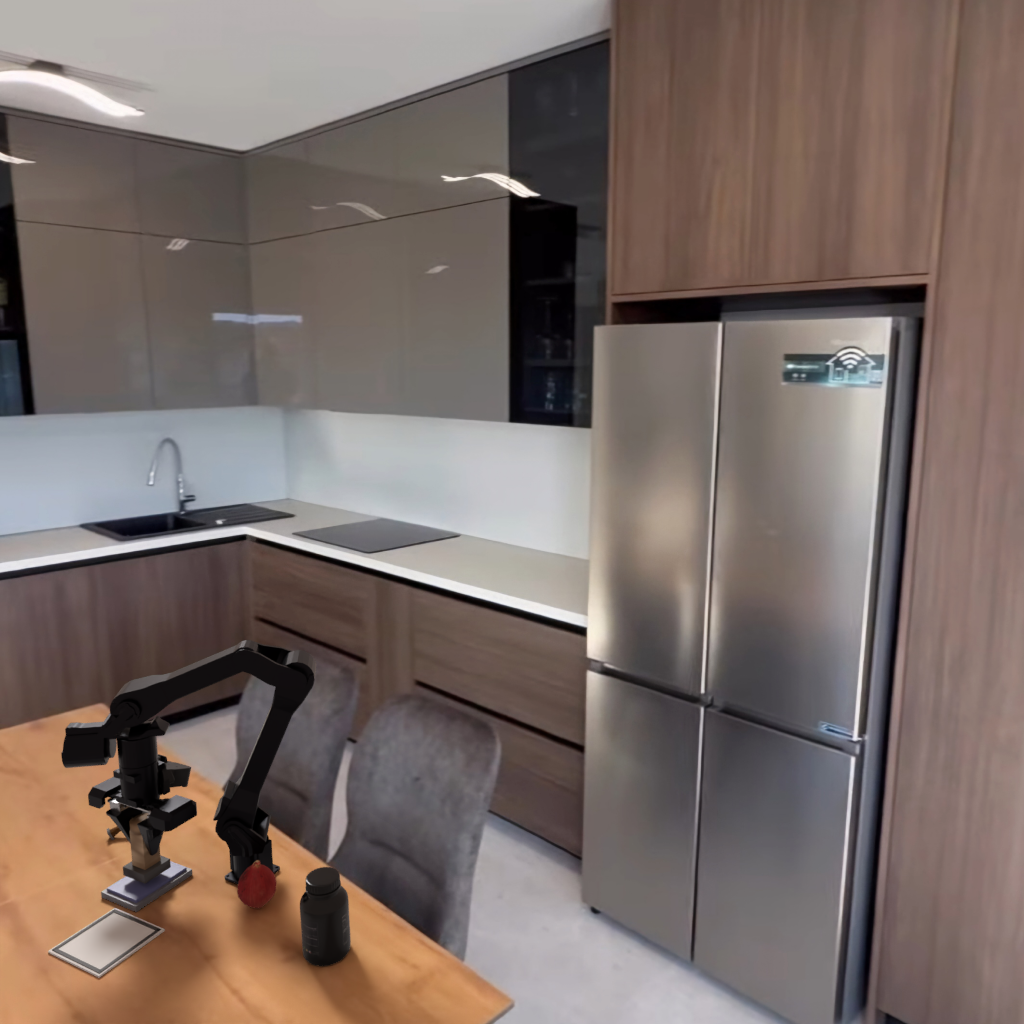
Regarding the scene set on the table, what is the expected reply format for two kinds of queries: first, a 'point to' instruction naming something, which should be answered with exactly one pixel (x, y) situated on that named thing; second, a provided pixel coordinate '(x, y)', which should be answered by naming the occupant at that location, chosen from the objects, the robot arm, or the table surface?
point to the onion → (256, 885)
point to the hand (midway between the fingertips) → (145, 851)
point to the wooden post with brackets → (115, 830)
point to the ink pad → (145, 888)
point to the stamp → (143, 856)
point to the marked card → (106, 942)
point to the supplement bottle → (324, 918)
